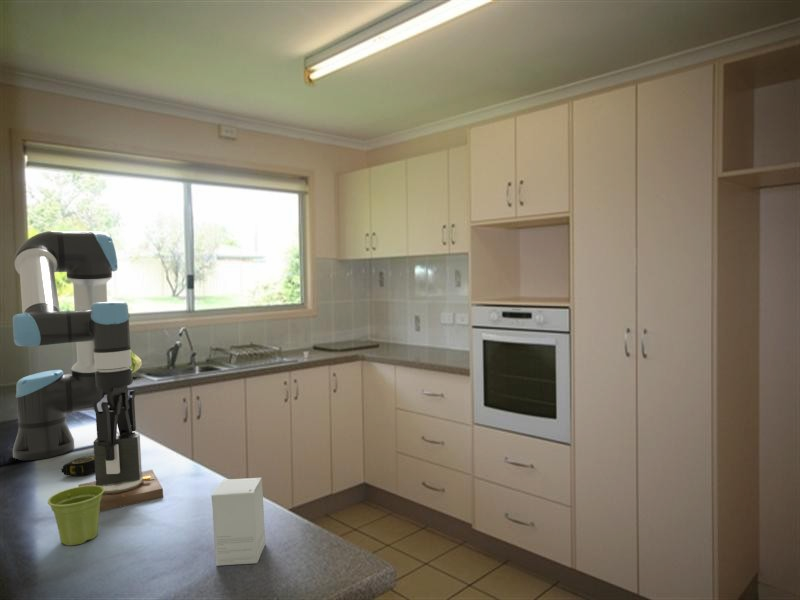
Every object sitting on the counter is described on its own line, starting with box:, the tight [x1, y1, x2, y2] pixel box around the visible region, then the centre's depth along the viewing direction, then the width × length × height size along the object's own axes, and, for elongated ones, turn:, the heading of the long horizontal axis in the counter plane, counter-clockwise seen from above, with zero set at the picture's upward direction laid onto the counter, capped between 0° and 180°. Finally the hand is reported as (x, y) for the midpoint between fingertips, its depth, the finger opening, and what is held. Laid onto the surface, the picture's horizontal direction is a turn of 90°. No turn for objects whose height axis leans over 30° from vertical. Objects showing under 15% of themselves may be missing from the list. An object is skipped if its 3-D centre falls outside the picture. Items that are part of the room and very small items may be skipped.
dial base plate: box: [77, 469, 164, 512], centre depth 126 cm, size 15×16×2 cm
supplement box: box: [211, 477, 266, 567], centre depth 97 cm, size 7×7×13 cm
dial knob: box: [93, 432, 151, 494], centre depth 126 cm, size 10×12×11 cm
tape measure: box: [60, 455, 95, 476], centre depth 141 cm, size 7×7×4 cm
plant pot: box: [47, 485, 104, 546], centre depth 105 cm, size 9×9×9 cm
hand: (119, 468), depth 126 cm, fingers closed on dial knob, 5 cm apart
